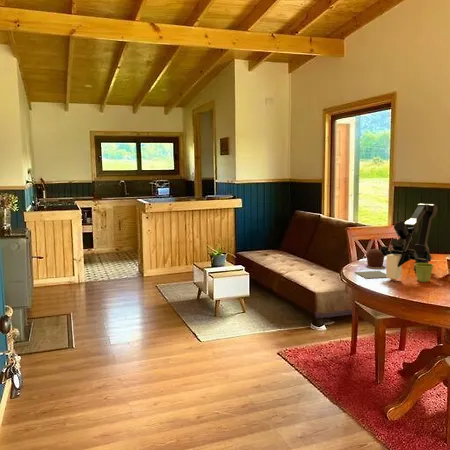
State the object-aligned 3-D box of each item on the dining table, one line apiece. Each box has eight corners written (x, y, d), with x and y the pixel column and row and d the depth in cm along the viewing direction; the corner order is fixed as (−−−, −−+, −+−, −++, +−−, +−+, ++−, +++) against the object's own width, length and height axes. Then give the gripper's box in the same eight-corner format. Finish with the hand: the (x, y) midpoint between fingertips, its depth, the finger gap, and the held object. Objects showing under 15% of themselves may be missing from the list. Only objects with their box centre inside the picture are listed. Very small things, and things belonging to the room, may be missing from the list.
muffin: (361, 264, 278) (361, 248, 277) (373, 262, 284) (374, 247, 282) (376, 268, 268) (377, 251, 267) (389, 266, 274) (389, 249, 272)
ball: (394, 279, 239) (395, 274, 239) (397, 281, 236) (397, 275, 236) (389, 280, 239) (389, 274, 238) (392, 281, 236) (392, 275, 235)
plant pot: (431, 283, 230) (432, 267, 229) (412, 281, 235) (412, 265, 234) (434, 279, 238) (435, 263, 237) (415, 277, 243) (415, 262, 242)
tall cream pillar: (391, 275, 241) (391, 253, 240) (401, 277, 237) (402, 255, 236) (386, 277, 237) (386, 255, 236) (396, 279, 233) (396, 256, 232)
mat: (379, 271, 259) (379, 270, 259) (392, 277, 244) (392, 276, 244) (354, 272, 257) (354, 271, 257) (365, 278, 242) (365, 278, 242)
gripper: (382, 231, 244) (371, 254, 238) (416, 234, 230) (405, 258, 224) (389, 243, 250) (378, 266, 244) (422, 247, 236) (411, 271, 230)
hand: (392, 265), depth 235 cm, fingers closed on tall cream pillar, 6 cm apart
